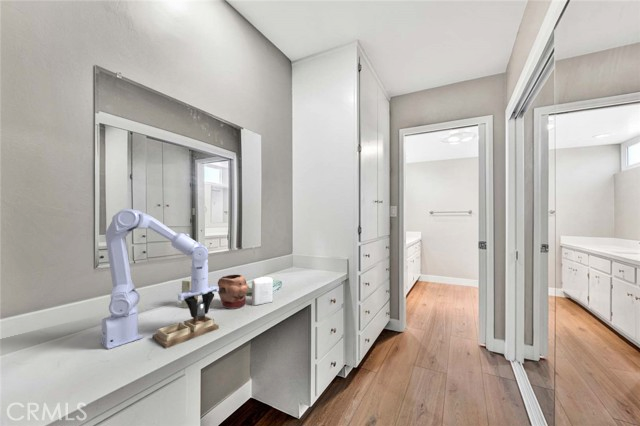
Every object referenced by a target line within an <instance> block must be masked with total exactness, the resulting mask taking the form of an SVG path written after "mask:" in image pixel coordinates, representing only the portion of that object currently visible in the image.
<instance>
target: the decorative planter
mask: <svg viewBox="0 0 640 426" xmlns="http://www.w3.org/2000/svg"><path fill="white" fill-rule="evenodd" d="M247 283H248V282H247V280H246V277H245V276H244V275H241V274H229V275H225V276H222V277H220V278H219V279H218V280H217V286H219V291H218V292H217V294H218V296H219V299H220V301H221V304H222V307H223V308H225V309H238V308H241V307H244V306H245V305H246V300H247V297H246V296H247V295H245V294H246V292H248V290H249V286H248V284H247Z"/></svg>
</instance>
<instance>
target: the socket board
mask: <svg viewBox="0 0 640 426" xmlns="http://www.w3.org/2000/svg"><path fill="white" fill-rule="evenodd" d="M219 327H220V326H219V324H217V323H215V320H214V318H212V317H209V316H207V315H205V320H203V321H198V322H195V321H193V317H191V318H190V319H186V320H183V323H182V322H177V323H174V324H171V325H167V326H164V327H161V328H158V329H157V330H156V333H154V334H152V337H151V338H152V339H153V340H154V341H155V342H157V343H158V344H160V345H161V346H162V347H164V348H166V349H168V348H171V347H174V346H176V345H179V344H181V343H184V342H187V341H189V340H192V339H195V338H198V337H200V336H203V335H205V334H208V333H211V332H213V331H217V330H218V329H219Z"/></svg>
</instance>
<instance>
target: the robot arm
mask: <svg viewBox="0 0 640 426" xmlns="http://www.w3.org/2000/svg"><path fill="white" fill-rule="evenodd" d="M137 228H141V229H150V230H151V231H153V232H155V233H156V234H159V235H160V236H162V237H163V238H166V239H167V240H169V241H170V242H171V243H170V244H171V247H173V248H175V249H176V250H178V251H180V252H181V253H183V255H186V256H190V260H191V266H190V268H191V269H190V270H191V271H190V273H191V275H190V276H191V277H190V278H191V290H190V291H187V292H184V293H182V292H181V293H179V294H177V297H178V298H177V299H178V301H180V302H181V301H182V300H185V302H186V303H187V305H188V307H189V308H188V310H189V313H190V317H191V318H195V317H196V305H197V301H198V302H199V299H198V300H197V299H195V298H194V297H195V296H198V297H200V296H201V299H202V302H205V315H207V314H208V313H209V310H210V306H211V303H212V301H213V299H214V298H215V293H216V292H217V293H218V291H219V286H218V285H212V286H209V260H208V258H209V249H208V248H207V247H206V245H204V244H202V243H201V242H200V241H196V240H194V239H193V238H191V237H190V234H189V233H185V232H180V233H177V232H175V231H174V230H172V229H171V228H169V227H168V226H167V225H165V224H164V223H162V222H161V221H160V220H158V219H157V218H155V217H153V216H152V215H150V214H148V213H144V212H143V211H142V210H141V209H140V210H139V209H135V208H134V209H132V208H124V209H120V210H119V211H118V212H117V213H115V214H114V215H113V216H112V218H111V222H110V223H109V225H108V227H107V229H106V232H105V234H104V237H105V243H106V250H107V257H108V262H109V270H110V275H111V283H112V290H111V293H110V301H109V304H108V311H109V313H110V315H109V316H107V317H104V318H102V320H101V334H100V335H101V336H100V337H101V338H100V343H101V344H102V345H103V346H104V347H105V348H106V349H108V350H109V349H112V348H116V347H119V346H121V345H125V344H128V343H131V342H134V341H137V340H141V339H142V338H143V335H141V334H140V333H138V332H139V331H138V326H139V325H138V324H139V322H138V321H139V309H138V306H137V304H138V303H139V302H140V299H141V297H140V294H139V292H138V291H137V290H136V285H135V284H134V283H133V281H132V275H131V267H130V262H129V255H128V248H127V241H126V237H127V236H128V235H129V234H130V233H131V232H133V230H135V229H137Z"/></svg>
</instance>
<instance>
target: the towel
mask: <svg viewBox="0 0 640 426" xmlns="http://www.w3.org/2000/svg"><path fill="white" fill-rule="evenodd" d="M272 280H273V292H274V291H275V292H277V291H278V289H279V288H280V289H281V288H282V285H283V282H282V280H277V279H272ZM252 281H253V280H251V281H249V282H246V283H247V284H248V286H249V290H248V292H246V294H245V296H250V297H252ZM280 289H279V290H280ZM276 290H277V291H276ZM275 292H274V293H275Z"/></svg>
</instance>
